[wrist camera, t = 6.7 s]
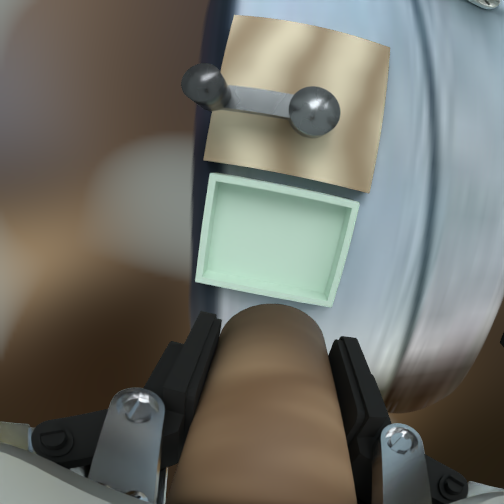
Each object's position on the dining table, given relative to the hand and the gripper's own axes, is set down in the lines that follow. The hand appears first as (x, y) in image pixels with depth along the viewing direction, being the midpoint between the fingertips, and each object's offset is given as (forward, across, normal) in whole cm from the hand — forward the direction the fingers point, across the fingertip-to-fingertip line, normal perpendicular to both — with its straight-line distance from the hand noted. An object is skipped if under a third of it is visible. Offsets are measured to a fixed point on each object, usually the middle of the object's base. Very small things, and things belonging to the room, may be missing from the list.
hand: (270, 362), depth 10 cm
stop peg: (+1, 0, 0) cm, 1 cm away
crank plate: (+19, 0, -14) cm, 23 cm away
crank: (+17, +3, -12) cm, 21 cm away
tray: (+19, 0, 0) cm, 19 cm away
